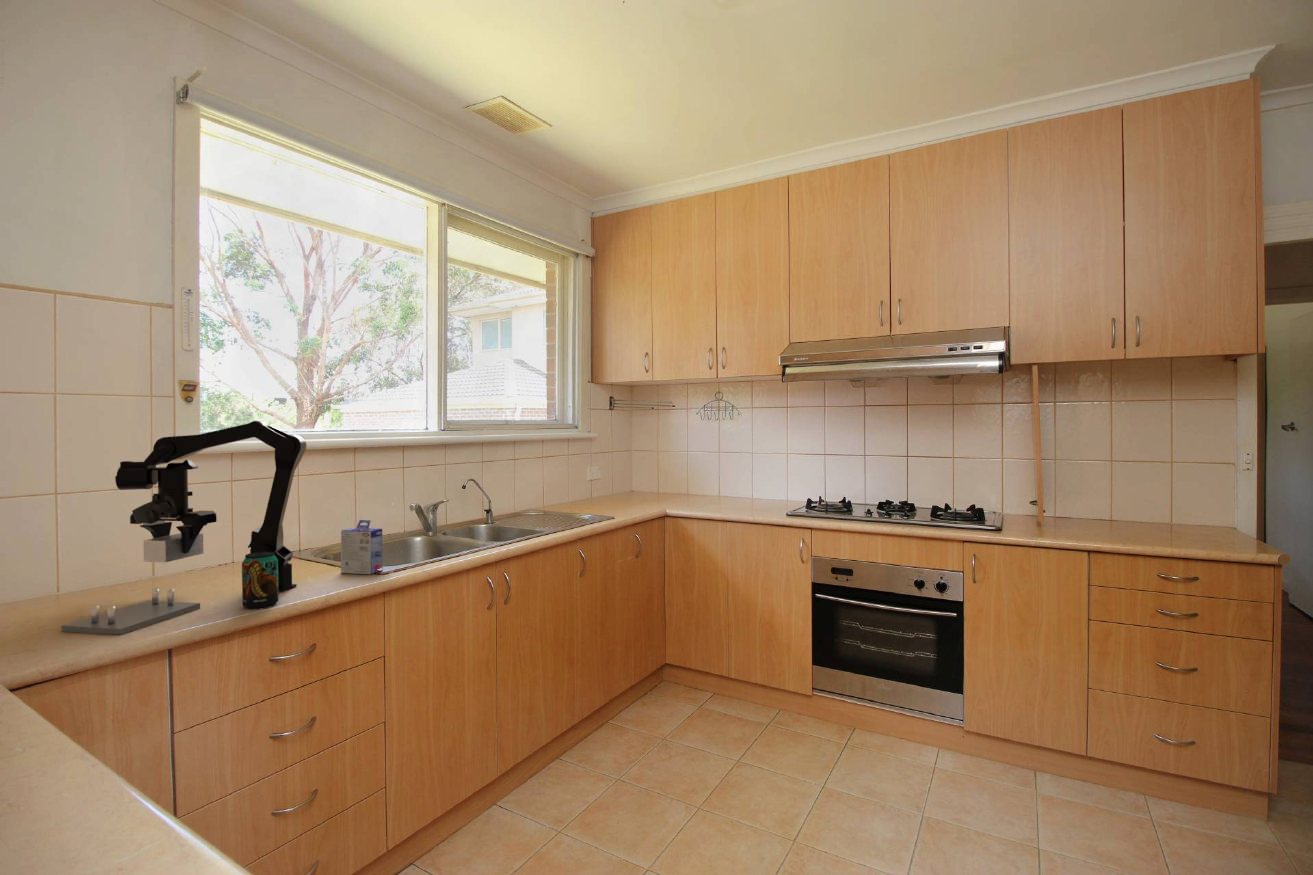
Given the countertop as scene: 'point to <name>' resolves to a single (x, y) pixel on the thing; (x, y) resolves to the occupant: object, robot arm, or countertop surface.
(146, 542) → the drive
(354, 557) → the ink cartridge box
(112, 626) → the pin tray
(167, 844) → the countertop surface
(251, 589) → the beverage can
